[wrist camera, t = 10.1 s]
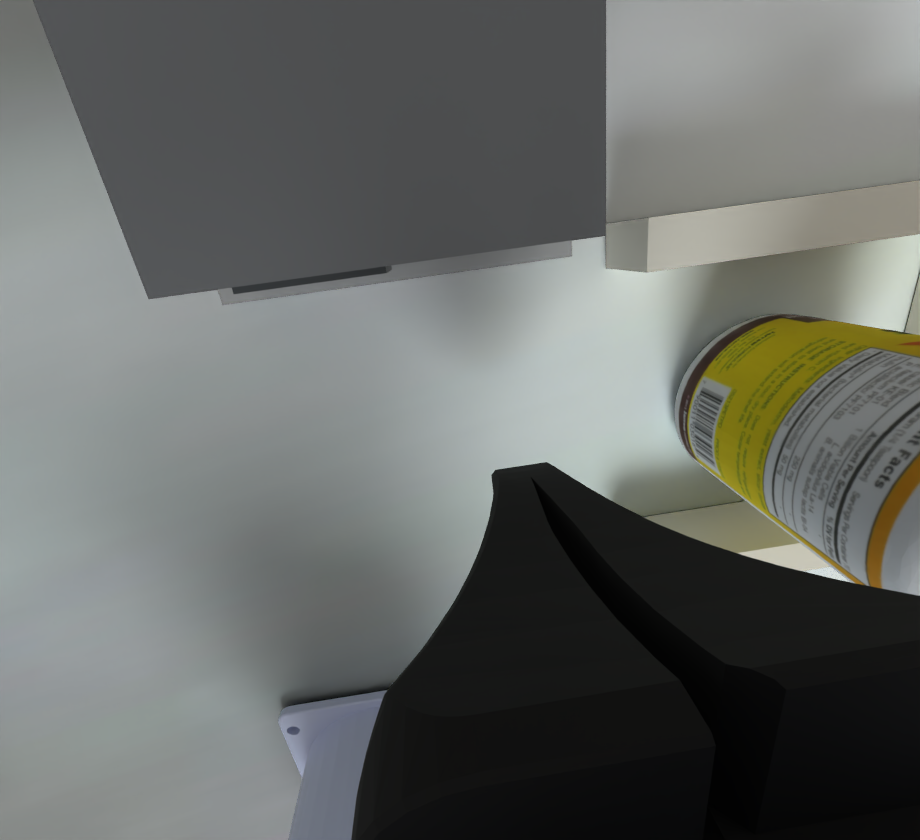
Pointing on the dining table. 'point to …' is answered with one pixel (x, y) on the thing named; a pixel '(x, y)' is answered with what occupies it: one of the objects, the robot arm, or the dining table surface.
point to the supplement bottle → (816, 437)
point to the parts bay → (749, 237)
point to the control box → (338, 135)
